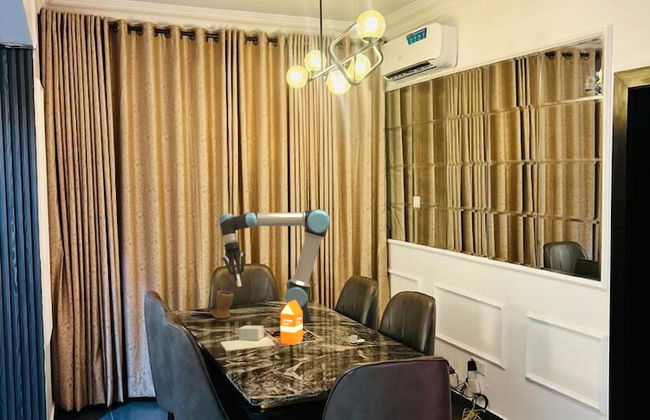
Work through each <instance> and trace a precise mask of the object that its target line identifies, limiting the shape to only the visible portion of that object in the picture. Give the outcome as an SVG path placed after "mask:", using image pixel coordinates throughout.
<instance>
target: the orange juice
mask: <svg viewBox="0 0 650 420" xmlns="http://www.w3.org/2000/svg"><path fill="white" fill-rule="evenodd" d="M303 323H304V322H302V310H301V308H300V307H299V305H298V303H297V302H296V300H293V301H291V302H289V303H286V304H285V306H284V307H283V309H282V311H281V312H280V344H285V345H293V346H294V345H297V344H298V343H300V342H302V341H303V340H304V339H303V336H304V335H303V331H304V330H303Z"/></svg>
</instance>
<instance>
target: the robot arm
mask: <svg viewBox="0 0 650 420" xmlns="http://www.w3.org/2000/svg"><path fill="white" fill-rule="evenodd" d="M218 219H219V220H218V221H219V226H220V232H221V237H222V242H223V244H224V245H223V247H224V251H225V253H224V256H222V257H221V260H222V262H223V263H224V265H225V267H226V269H227V271H228V273H229V275H232V276H233V280H234V282H236V286H237V288H239V287H242V279H243V277H242V273H243V272H244V271H245V257H246V253H243V252H242V251H241V250H240V246H239V240H238V236H237V232H236V231H240V230H243V229H244V230H245V229H248V228H252V227H304V233H305V237H304V240H303V244H302V248H301V251H300V255H299V258H298V262H297V264H296V268H295V270H294V276H293V277H292V278H290V279H288V280H286V292H285V295H284V299H285V302H286V304H287V303H289V302H291V301H293V300H296V302H297V303H298V305H299V307H300V308H301V310H302V322H303V323H307V322H310V321H311V319H312V317H311V316H312V315H311V312H310V309H309V306H308V305H309V304H308V303H309V301H308V300H309V299H308V296H309V293H310V289H311V286H312V285H311V284H310V279H311V276H312V273H313V269H314V266H315V263H316V260H317V257H318V253H319V249H320V246H321V243H322V240H324V239H325V238H326V236H327V232H328V229H329V227H330V225H331V218H330V216H329V214H328V213H327V211H326V210H324V209H323V208H316V209H311V210H303V211H301V212H298V211H297V212H296V211H294V212H286V211H285V212H283V211H282V212H252V211H250V212H249V211H248V212H245V213H244V214H240V215H236V216H234V215H233V214H232V213H225V214H224V213H223V214H222V215H219V217H218ZM239 258H240V261H239ZM228 260H229V261H228ZM229 262H230V264H229Z"/></svg>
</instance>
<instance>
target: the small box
mask: <svg viewBox="0 0 650 420" xmlns="http://www.w3.org/2000/svg"><path fill="white" fill-rule="evenodd" d="M264 333H265V331H264V325H243V326H241V327H239V328H238V340H259V339H261V338H262V337H265V336H264V335H265V334H264Z"/></svg>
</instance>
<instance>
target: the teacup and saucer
mask: <svg viewBox="0 0 650 420" xmlns="http://www.w3.org/2000/svg"><path fill="white" fill-rule="evenodd" d="M347 338H348V341H350V342H349V343H351V342H352V343H355V342H364V343H365V339H362V338H361V339H358V335H356V334H351V335H350V336H348V337H347ZM349 338H350V339H349ZM352 343H351V344H352Z"/></svg>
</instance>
